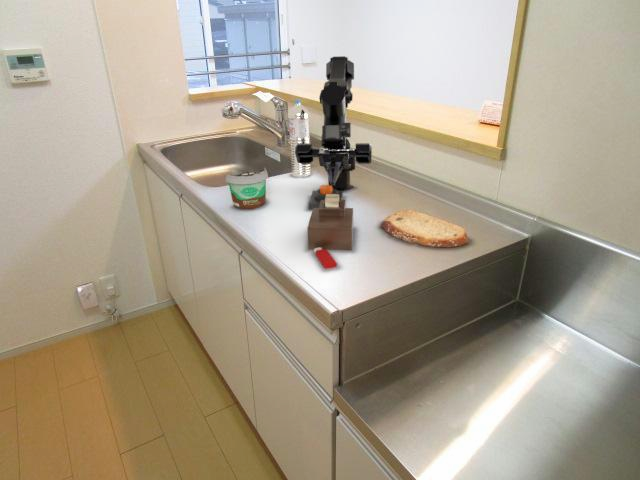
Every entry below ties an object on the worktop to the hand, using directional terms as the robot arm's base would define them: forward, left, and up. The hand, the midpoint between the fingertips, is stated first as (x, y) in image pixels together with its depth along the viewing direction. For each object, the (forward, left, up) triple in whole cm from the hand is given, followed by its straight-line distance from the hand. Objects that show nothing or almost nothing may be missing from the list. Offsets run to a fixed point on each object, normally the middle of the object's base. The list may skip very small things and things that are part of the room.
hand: (332, 184), depth 109 cm
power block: (-11, -14, -12) cm, 21 cm away
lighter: (+14, +10, -12) cm, 21 cm away
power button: (-11, -14, -8) cm, 20 cm away
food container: (+5, -28, -12) cm, 30 cm away
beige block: (+2, +2, -4) cm, 5 cm away
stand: (+5, +4, -12) cm, 13 cm away
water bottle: (-25, -39, -12) cm, 48 cm away
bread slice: (-12, +18, -12) cm, 25 cm away
